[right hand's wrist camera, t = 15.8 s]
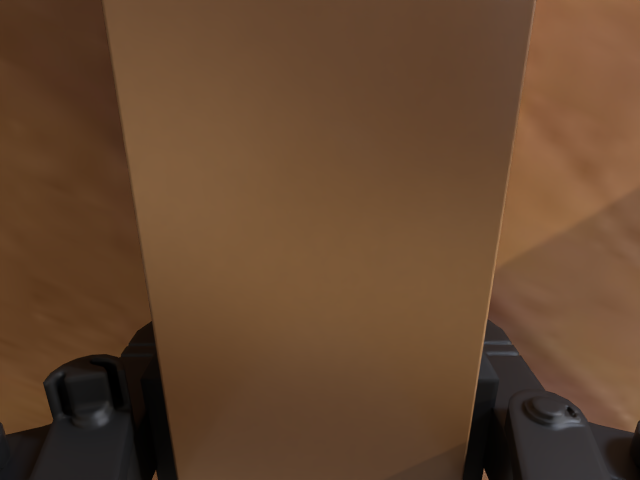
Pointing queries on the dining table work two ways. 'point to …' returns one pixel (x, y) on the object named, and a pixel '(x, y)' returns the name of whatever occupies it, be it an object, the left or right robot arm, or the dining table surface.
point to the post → (319, 223)
